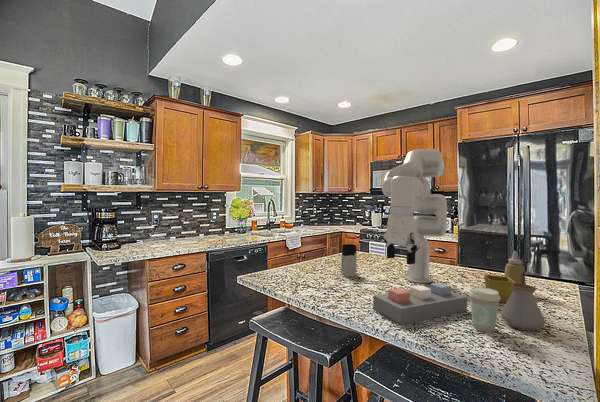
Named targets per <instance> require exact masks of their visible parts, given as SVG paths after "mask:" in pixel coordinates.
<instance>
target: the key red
mask: <svg viewBox="0 0 600 402" xmlns="http://www.w3.org/2000/svg"><path fill="white" fill-rule="evenodd" d="M388 299H390V300H392V301H394V302H396V303H404V302H410V292H408V291H406V290H405V289H403V288H400V287H398V288H393V289H391V288H390V289H388Z"/></svg>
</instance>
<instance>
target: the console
mask: <svg viewBox="0 0 600 402" xmlns="http://www.w3.org/2000/svg"><path fill="white" fill-rule="evenodd" d="M426 287H427V286H426ZM427 288H429V289H430V286H428V287H427ZM405 291H408V292H410V289H406V290H405ZM372 297H373V298H372V309H373V310H374V311H376V312H378V313H380V314H381V315H383V316H385V317H387V318H389V319H390V320H392V321H394V322H395V323H397V324H400V325H404V324H409V323H415V322H419V321H424V320H428V319H434V318H438V317H443V316H448V315H452V314H457V313H458V314H459V313H462V312H466V311H468V296H466V295H463V294H460V293H457V292H454V291H451V295H446V296H439V295H436V294H434V293H431V298H428V299H422V300H420V299H418V298H415V297H413V296H410V302H404V303H396V302H394V301H392V300H390V299H388V293H387V292H386V293H380V294H374V295H373V296H372Z"/></svg>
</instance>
